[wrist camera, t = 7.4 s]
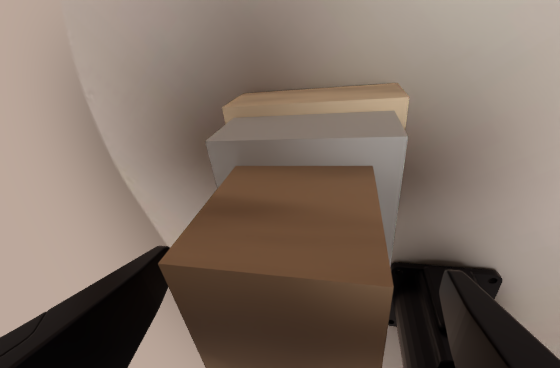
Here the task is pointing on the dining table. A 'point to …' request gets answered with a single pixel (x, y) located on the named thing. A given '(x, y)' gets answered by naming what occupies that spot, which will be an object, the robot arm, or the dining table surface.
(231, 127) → the grey block
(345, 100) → the beech base block
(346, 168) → the walnut cube
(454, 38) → the dining table surface
